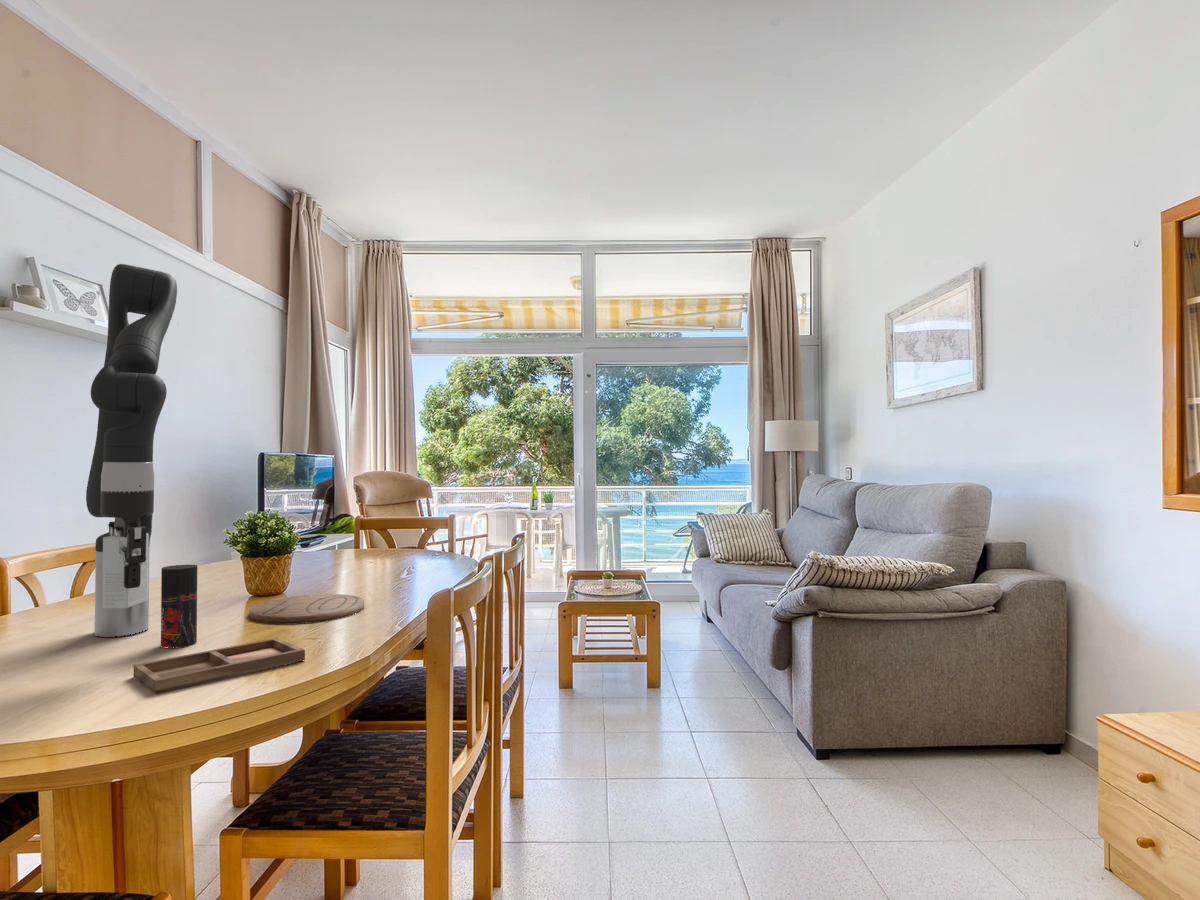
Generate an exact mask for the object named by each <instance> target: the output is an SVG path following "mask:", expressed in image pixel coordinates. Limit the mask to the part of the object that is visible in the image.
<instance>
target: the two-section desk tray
mask: <svg viewBox="0 0 1200 900" xmlns="http://www.w3.org/2000/svg"><path fill="white" fill-rule="evenodd" d="M303 660H306V650H305V649H304V648H302V647H299V646H297V645H294V644H292V643H290V642H288V641H285V640H283V639H280V638H278V637H274V638H268V639H263V640H259V641H252V642H248V643H242V644H235V645H233V646H225V647H221V648H216V649H210V650H205V651H200V652H194V653H190V654H183V655H179V656H173V657H169V658H163V659H158V660H152V661H145V662H143V663H137V664H133V678H134V677H135V678H136V679H135V678H134V679H135V680H137V681H138V680H139V681H140V682H139V681H138V682H139V683H141V685H143V684H144V685H145V688H146V689H148V690H150V691H151V692H152V693H153V694H155V695H158V694H162V693H166V691H167V692H170V691H171V692H172V691H175V690H176V691H177V690H179V689H180V690H181V689H184V688H189V687H194V686H198V685H203V684H206V683H207V682H208V683H211V682H210V681H212V682H215V680H217V681H220V679H221V680H224V679H225V678H226V679H230V678H234V676H235V677H239V676H244V675H247V673H248V674H251V673H252V672H253V673H257V672H261V670H262V671H266V670H269V669H268V668H271V669H274V668H273V667H275V668H278V667H277V666H280V665H284V666H286V665H285V664H289V663H293V664H295V663H294V662H298V661H302V662H304V661H303ZM298 663H299V662H298ZM289 665H290V664H289ZM280 667H281V666H280ZM265 669H266V670H265ZM256 671H257V672H256ZM243 674H244V675H243ZM238 675H239V676H238ZM229 677H230V678H229ZM226 679H225V680H226ZM193 685H194V686H193ZM161 692H162V693H161ZM157 693H158V694H157Z"/></svg>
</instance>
